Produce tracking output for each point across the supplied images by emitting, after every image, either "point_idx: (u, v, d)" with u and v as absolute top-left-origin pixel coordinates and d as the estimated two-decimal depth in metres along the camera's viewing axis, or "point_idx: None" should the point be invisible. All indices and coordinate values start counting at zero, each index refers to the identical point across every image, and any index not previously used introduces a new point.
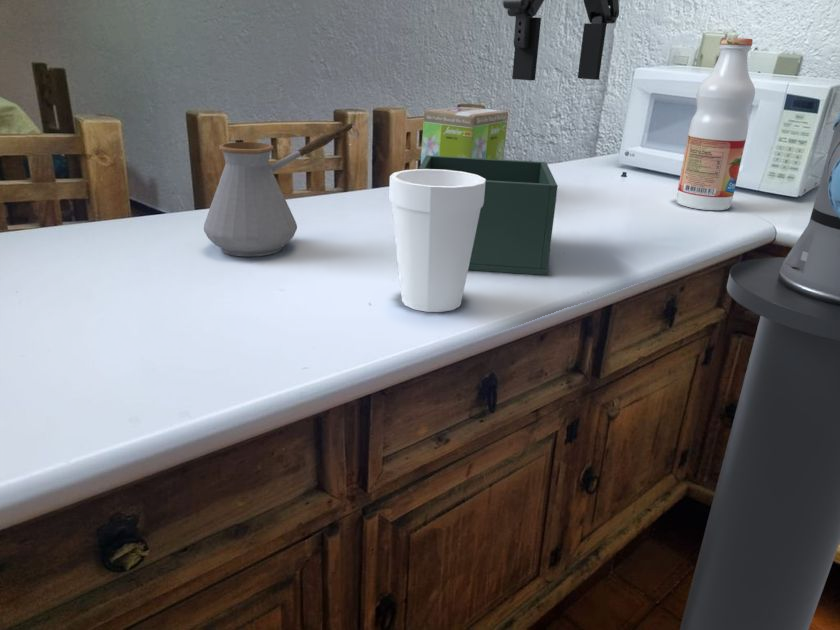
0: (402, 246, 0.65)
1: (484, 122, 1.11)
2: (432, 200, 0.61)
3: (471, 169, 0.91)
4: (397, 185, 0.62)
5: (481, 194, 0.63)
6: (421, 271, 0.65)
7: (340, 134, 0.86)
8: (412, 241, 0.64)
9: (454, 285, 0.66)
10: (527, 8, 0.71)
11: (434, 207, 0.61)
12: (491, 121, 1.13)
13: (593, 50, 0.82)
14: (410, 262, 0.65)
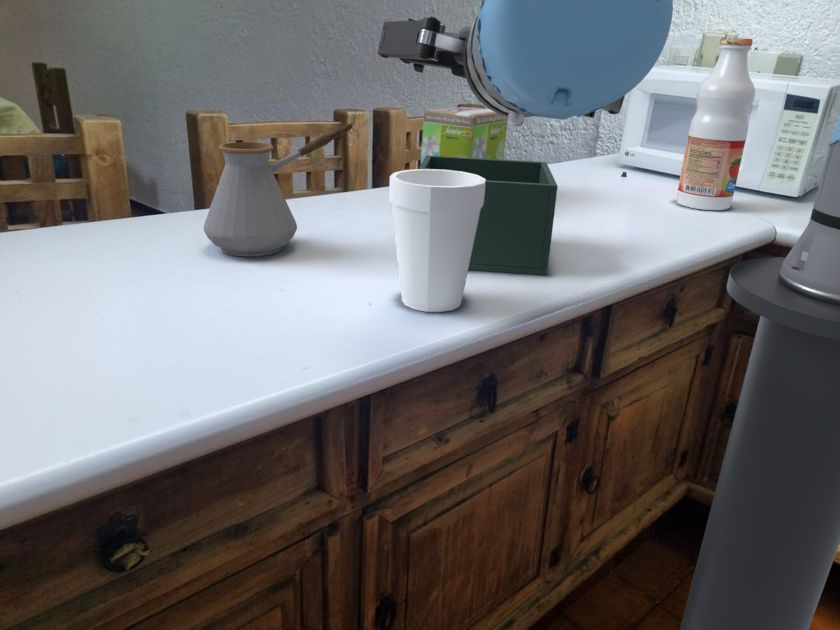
0: (402, 246, 0.65)
1: (484, 122, 1.11)
2: (432, 200, 0.61)
3: (471, 169, 0.91)
4: (397, 185, 0.62)
5: (481, 194, 0.63)
6: (421, 271, 0.65)
7: (340, 134, 0.86)
8: (412, 241, 0.64)
9: (454, 285, 0.66)
10: None
11: (434, 207, 0.61)
12: (491, 121, 1.13)
13: None
14: (410, 262, 0.65)
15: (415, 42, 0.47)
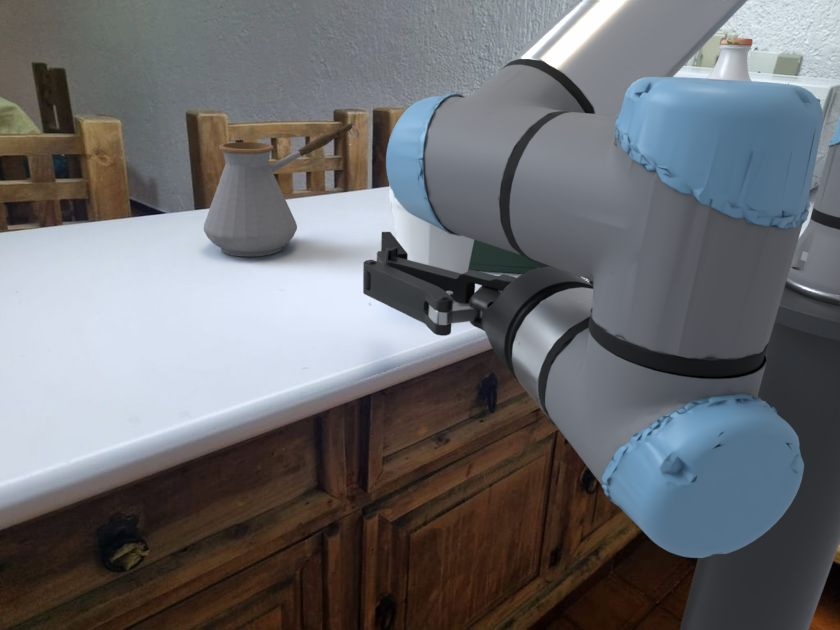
0: (402, 246, 0.65)
1: None
2: None
3: None
4: None
5: None
6: None
7: (340, 134, 0.86)
8: (412, 241, 0.64)
9: None
10: None
11: None
12: None
13: None
14: None
15: (423, 310, 0.45)
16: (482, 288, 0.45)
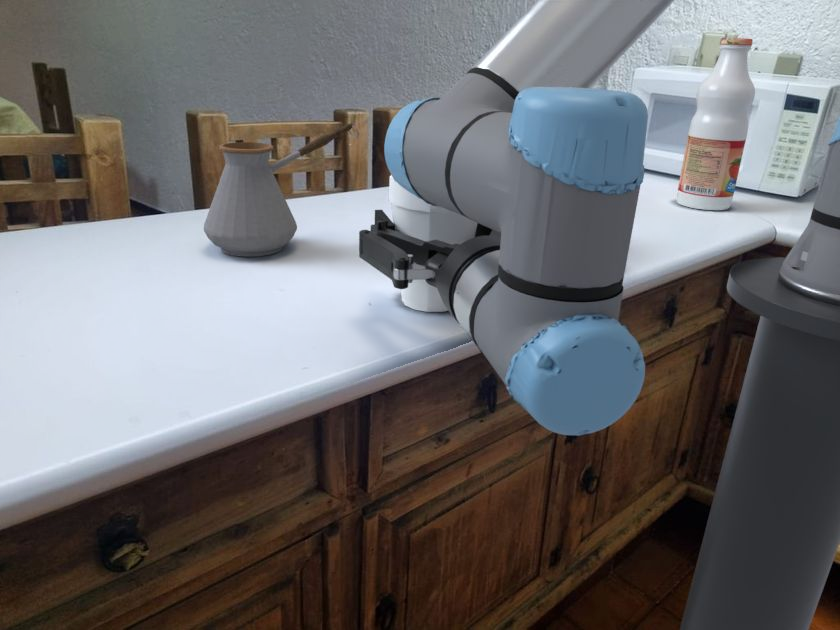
0: None
1: None
2: None
3: None
4: (397, 185, 0.62)
5: None
6: None
7: (340, 134, 0.86)
8: None
9: None
10: None
11: (434, 207, 0.61)
12: None
13: None
14: None
15: (391, 269, 0.56)
16: (436, 255, 0.56)
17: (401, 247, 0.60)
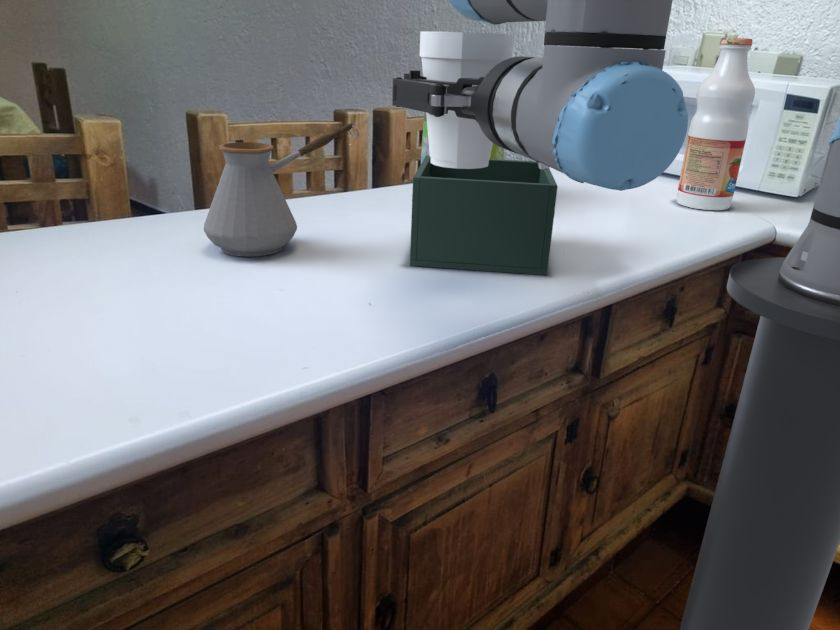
0: None
1: None
2: (464, 46, 0.62)
3: (471, 169, 0.91)
4: (428, 35, 0.64)
5: (510, 46, 0.65)
6: (451, 125, 0.66)
7: (340, 134, 0.86)
8: None
9: (483, 141, 0.68)
10: None
11: (466, 54, 0.63)
12: None
13: None
14: (440, 117, 0.67)
15: (426, 101, 0.58)
16: None
17: None
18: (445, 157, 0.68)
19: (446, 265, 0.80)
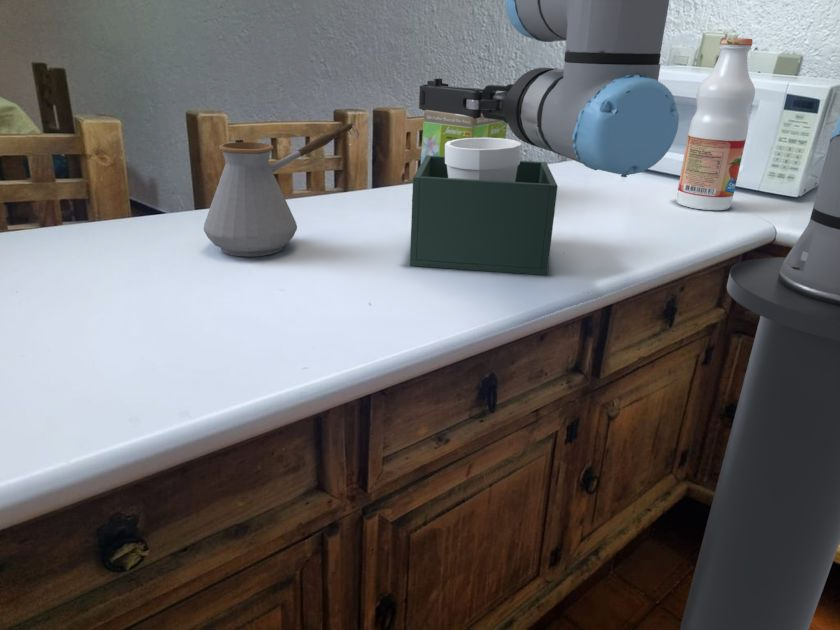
0: None
1: (484, 122, 1.11)
2: (480, 160, 0.78)
3: None
4: (452, 150, 0.79)
5: (518, 154, 0.80)
6: None
7: (340, 134, 0.86)
8: None
9: None
10: None
11: (482, 166, 0.78)
12: (491, 121, 1.13)
13: None
14: None
15: (462, 105, 0.68)
16: None
17: None
18: None
19: (446, 265, 0.80)
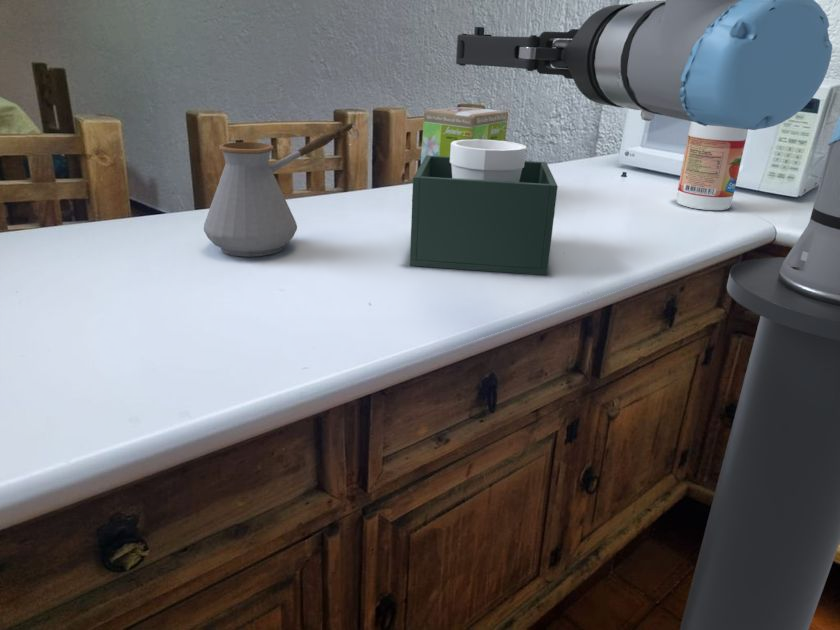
0: None
1: (484, 122, 1.11)
2: (486, 160, 0.78)
3: None
4: (457, 149, 0.80)
5: (523, 157, 0.80)
6: None
7: (340, 134, 0.86)
8: None
9: None
10: None
11: (487, 166, 0.78)
12: (491, 121, 1.13)
13: None
14: None
15: (513, 56, 0.55)
16: None
17: None
18: None
19: (446, 265, 0.80)
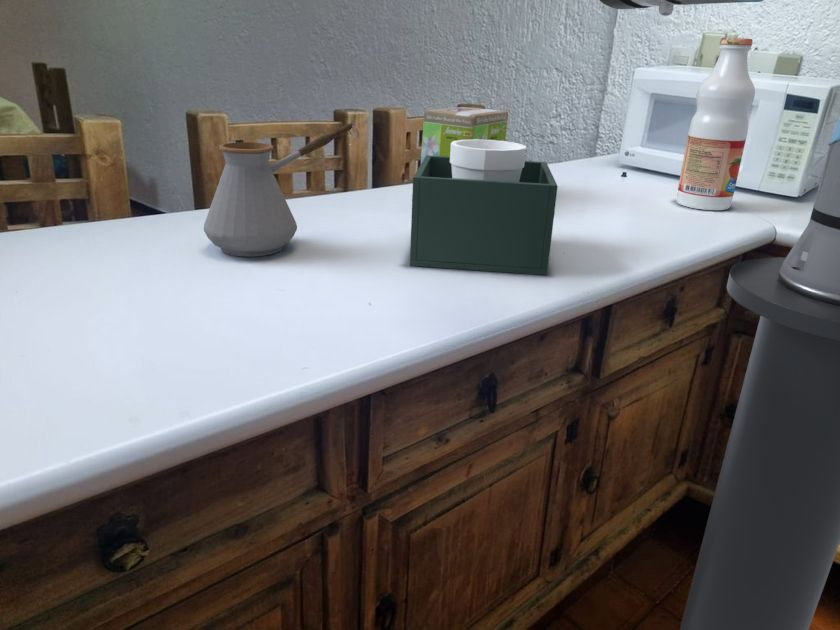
0: None
1: (484, 122, 1.11)
2: (486, 160, 0.78)
3: None
4: (457, 149, 0.80)
5: (523, 157, 0.80)
6: None
7: (340, 134, 0.86)
8: None
9: None
10: None
11: (487, 166, 0.78)
12: (491, 121, 1.13)
13: None
14: None
15: None
16: None
17: None
18: None
19: (446, 265, 0.80)
